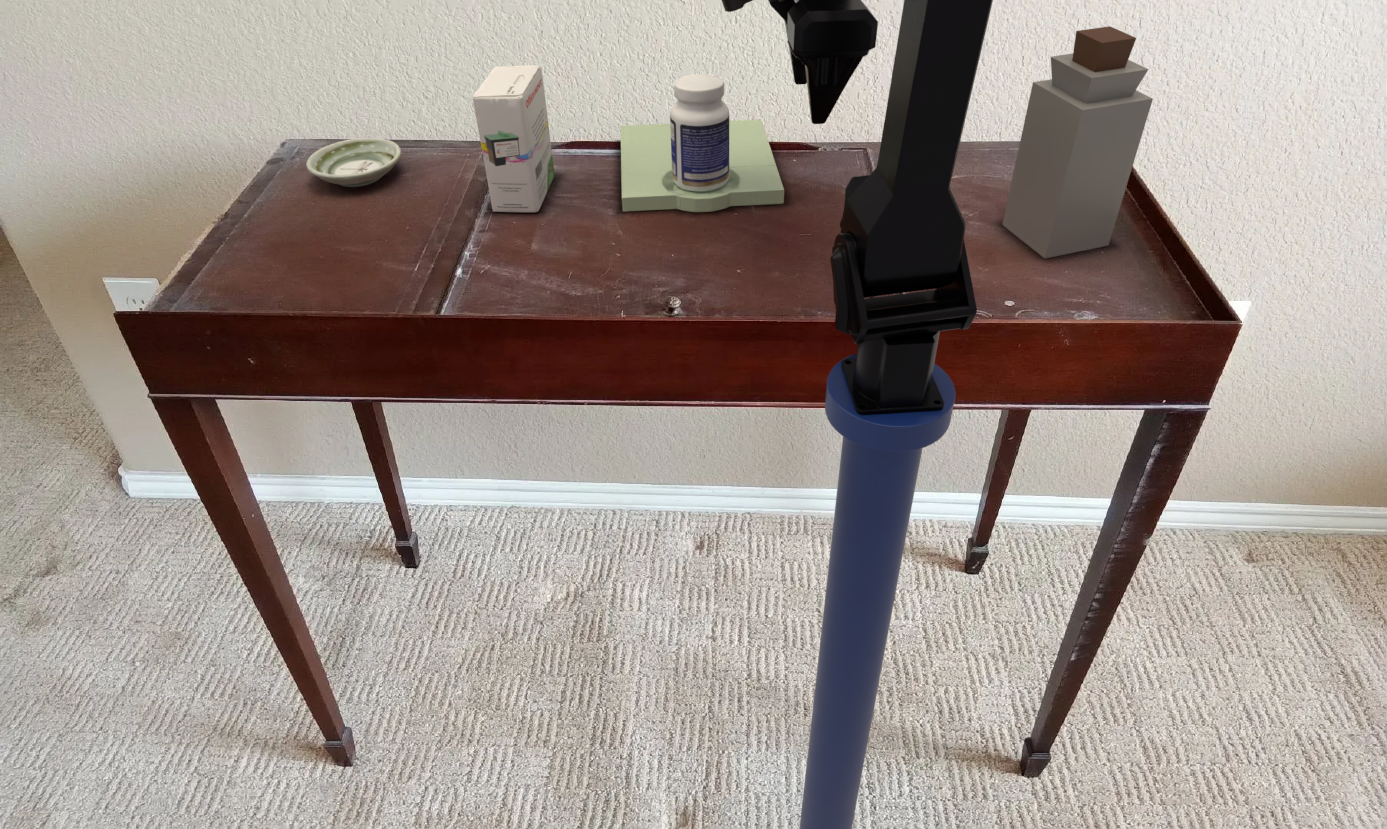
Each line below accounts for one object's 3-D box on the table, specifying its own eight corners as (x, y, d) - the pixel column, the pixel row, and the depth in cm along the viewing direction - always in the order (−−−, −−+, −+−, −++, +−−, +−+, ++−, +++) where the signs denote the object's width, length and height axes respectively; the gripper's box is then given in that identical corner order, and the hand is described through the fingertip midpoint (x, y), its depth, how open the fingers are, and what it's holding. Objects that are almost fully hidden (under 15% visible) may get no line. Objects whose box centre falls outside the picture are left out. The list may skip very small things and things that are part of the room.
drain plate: (785, 208, 90) (785, 194, 89) (622, 216, 90) (621, 202, 89) (761, 131, 105) (761, 118, 104) (621, 138, 104) (620, 125, 103)
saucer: (322, 160, 101) (316, 139, 100) (411, 155, 102) (406, 134, 100) (303, 200, 94) (296, 178, 92) (399, 194, 94) (393, 171, 93)
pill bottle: (741, 179, 92) (742, 80, 86) (702, 199, 89) (701, 97, 82) (699, 163, 95) (697, 66, 89) (660, 182, 92) (655, 82, 86)
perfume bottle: (1063, 213, 88) (1114, 17, 77) (1108, 245, 83) (1170, 41, 72) (1002, 224, 87) (1044, 27, 75) (1044, 258, 82) (1097, 52, 70)
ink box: (510, 175, 97) (492, 62, 90) (556, 176, 97) (542, 63, 89) (490, 212, 91) (469, 94, 83) (539, 213, 90) (522, 95, 83)
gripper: (706, -120, 77) (708, 69, 86) (727, -68, 62) (726, 151, 72) (838, -124, 77) (825, 64, 87) (890, -75, 63) (867, 144, 73)
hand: (809, 102), depth 80 cm, fingers open, 9 cm apart
